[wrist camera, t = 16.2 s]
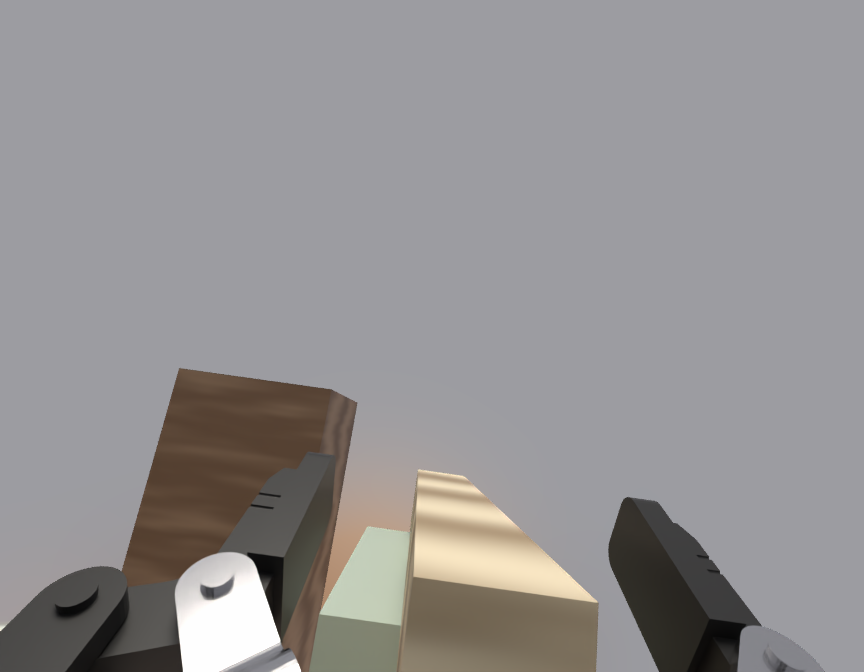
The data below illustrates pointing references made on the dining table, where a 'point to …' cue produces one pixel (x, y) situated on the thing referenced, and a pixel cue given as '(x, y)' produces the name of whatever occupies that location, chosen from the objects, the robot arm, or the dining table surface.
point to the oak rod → (486, 591)
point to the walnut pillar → (234, 476)
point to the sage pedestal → (365, 608)
